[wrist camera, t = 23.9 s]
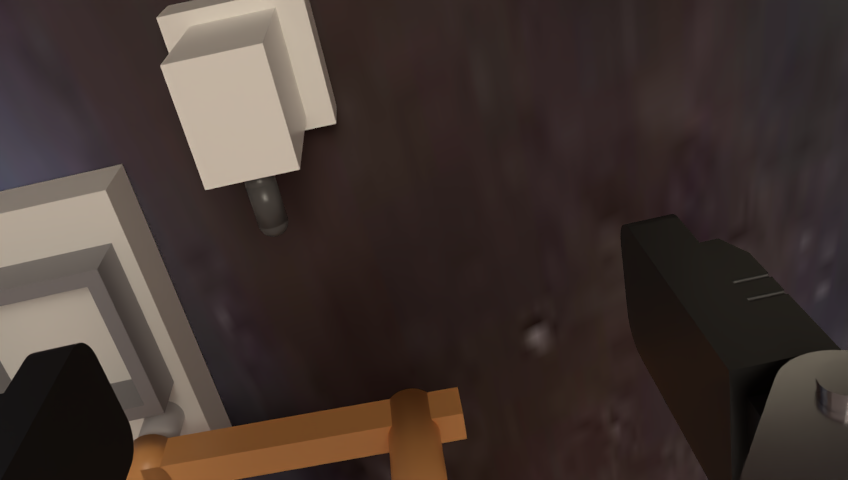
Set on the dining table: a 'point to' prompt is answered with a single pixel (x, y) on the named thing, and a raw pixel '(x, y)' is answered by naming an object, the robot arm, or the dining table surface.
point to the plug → (247, 92)
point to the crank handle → (314, 441)
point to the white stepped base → (101, 299)
